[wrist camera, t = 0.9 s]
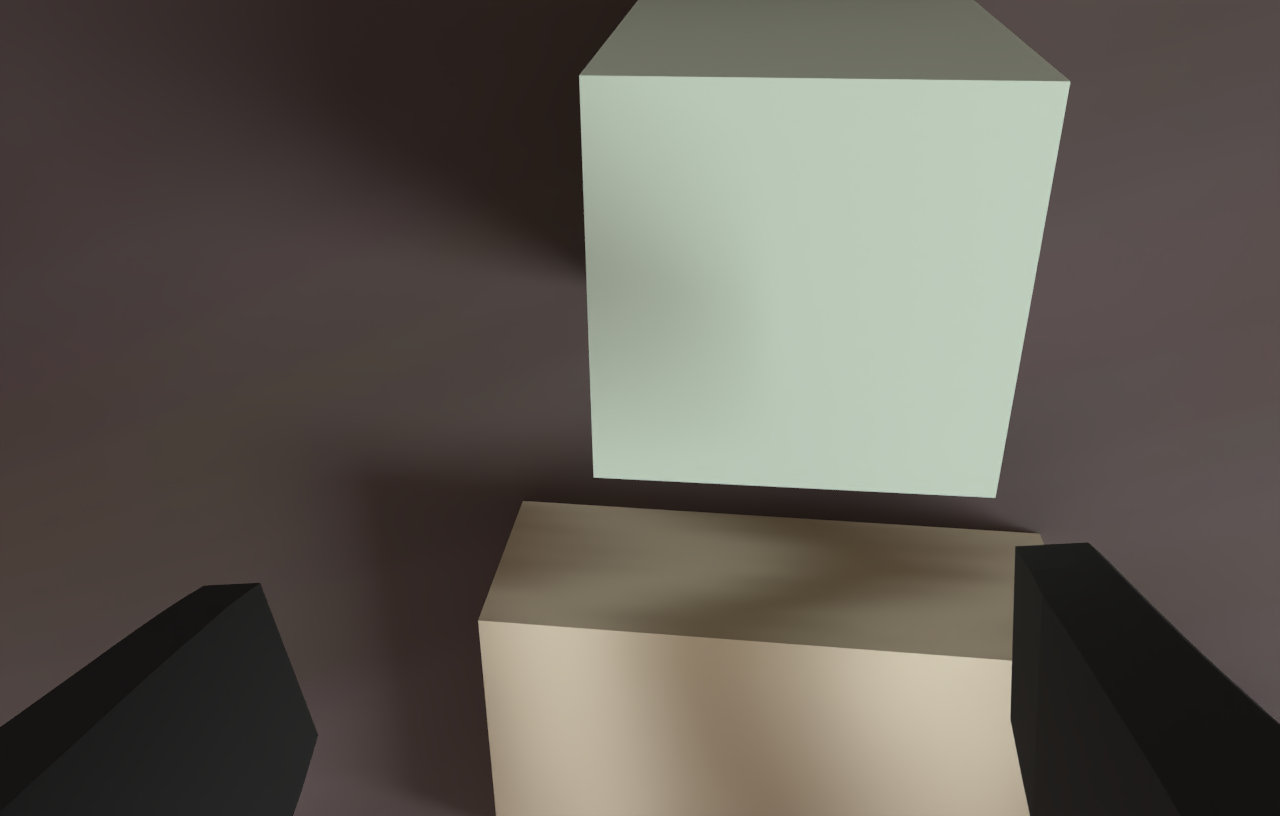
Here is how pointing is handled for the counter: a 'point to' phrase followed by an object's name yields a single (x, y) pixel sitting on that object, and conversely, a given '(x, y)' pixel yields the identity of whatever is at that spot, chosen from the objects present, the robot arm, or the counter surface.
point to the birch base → (749, 666)
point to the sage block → (812, 241)
